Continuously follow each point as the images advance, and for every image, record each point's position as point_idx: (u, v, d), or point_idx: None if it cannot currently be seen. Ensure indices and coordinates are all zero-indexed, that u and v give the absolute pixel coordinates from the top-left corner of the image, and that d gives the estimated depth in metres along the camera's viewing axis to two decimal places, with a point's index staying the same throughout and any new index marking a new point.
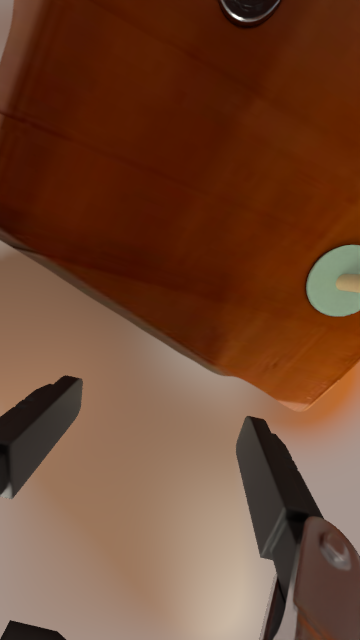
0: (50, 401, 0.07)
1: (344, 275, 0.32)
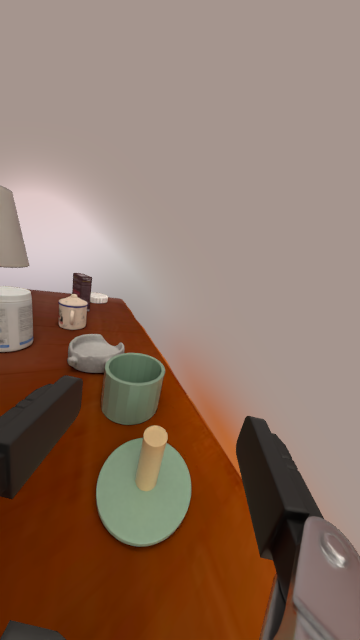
0: (50, 401, 0.07)
1: (136, 473, 0.25)
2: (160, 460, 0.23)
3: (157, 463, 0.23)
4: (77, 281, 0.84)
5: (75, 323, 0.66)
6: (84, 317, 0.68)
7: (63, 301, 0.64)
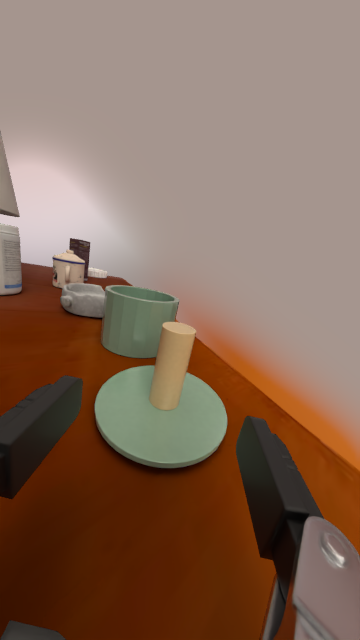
0: (50, 401, 0.07)
1: (150, 390, 0.18)
2: (186, 362, 0.16)
3: (182, 364, 0.16)
4: (73, 246, 0.77)
5: (71, 282, 0.59)
6: (81, 277, 0.61)
7: (58, 255, 0.57)
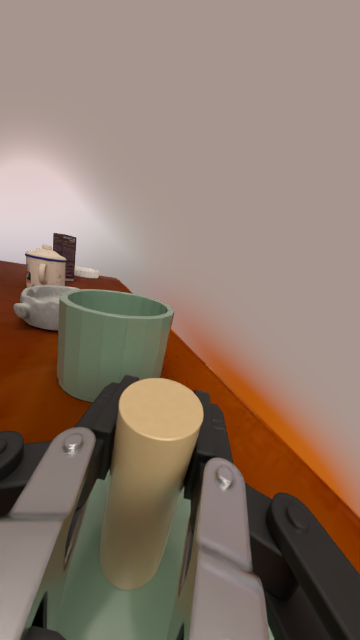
0: None
1: None
2: (179, 490, 0.07)
3: (169, 501, 0.06)
4: (57, 242, 0.67)
5: (48, 283, 0.49)
6: (61, 277, 0.52)
7: (31, 251, 0.47)
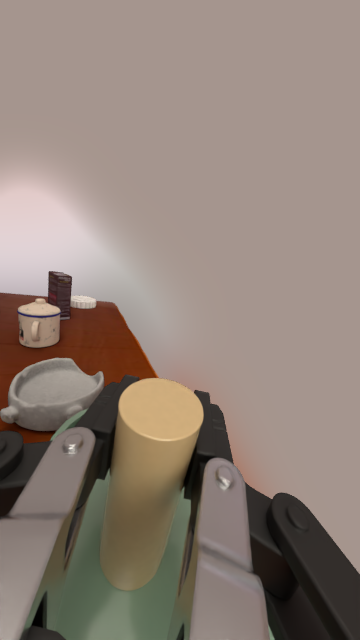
0: None
1: (102, 526, 0.08)
2: (179, 490, 0.07)
3: (169, 502, 0.06)
4: (52, 281, 0.66)
5: (42, 339, 0.48)
6: (55, 330, 0.50)
7: (23, 309, 0.46)
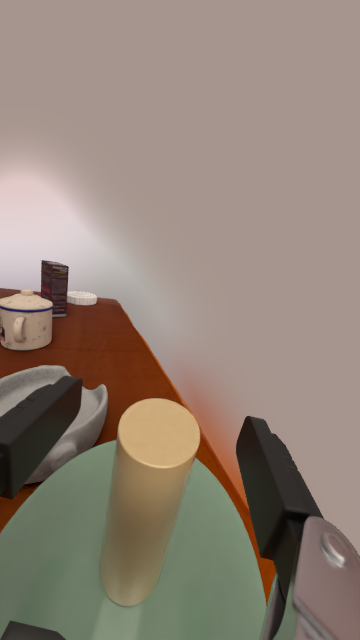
0: (50, 401, 0.07)
1: None
2: (177, 510, 0.07)
3: (166, 523, 0.07)
4: (46, 271, 0.56)
5: (28, 339, 0.38)
6: (46, 328, 0.40)
7: (4, 301, 0.36)
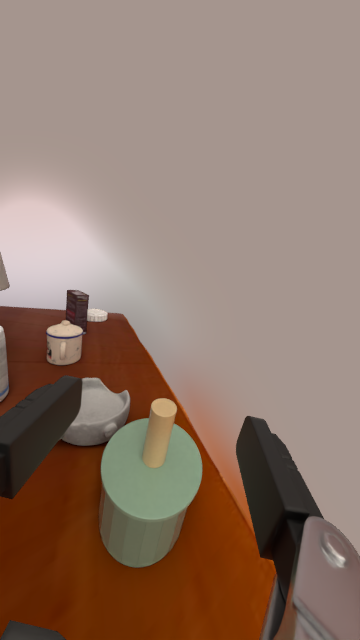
0: (50, 401, 0.07)
1: (143, 450, 0.23)
2: (169, 433, 0.22)
3: (166, 436, 0.21)
4: (71, 299, 0.71)
5: (67, 357, 0.53)
6: (79, 348, 0.55)
7: (52, 331, 0.51)
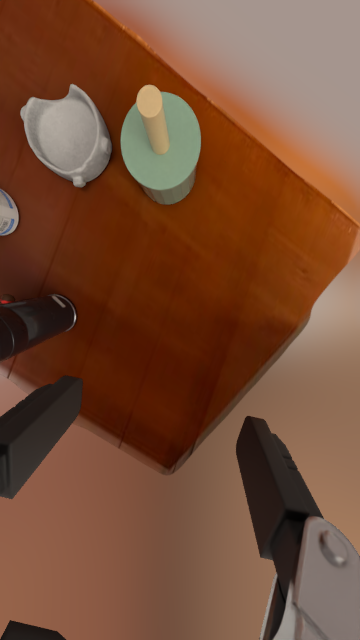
0: (50, 401, 0.07)
1: (151, 147, 0.29)
2: (165, 120, 0.24)
3: (164, 125, 0.25)
4: None
5: None
6: None
7: None
